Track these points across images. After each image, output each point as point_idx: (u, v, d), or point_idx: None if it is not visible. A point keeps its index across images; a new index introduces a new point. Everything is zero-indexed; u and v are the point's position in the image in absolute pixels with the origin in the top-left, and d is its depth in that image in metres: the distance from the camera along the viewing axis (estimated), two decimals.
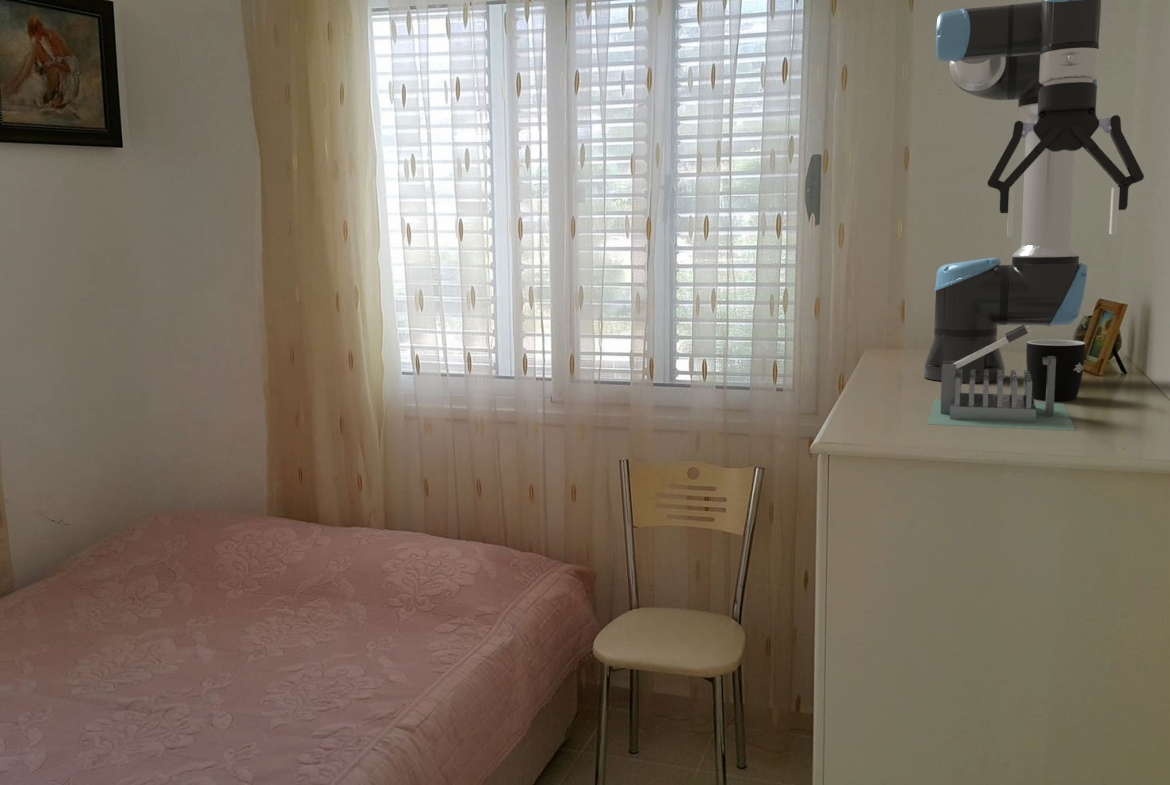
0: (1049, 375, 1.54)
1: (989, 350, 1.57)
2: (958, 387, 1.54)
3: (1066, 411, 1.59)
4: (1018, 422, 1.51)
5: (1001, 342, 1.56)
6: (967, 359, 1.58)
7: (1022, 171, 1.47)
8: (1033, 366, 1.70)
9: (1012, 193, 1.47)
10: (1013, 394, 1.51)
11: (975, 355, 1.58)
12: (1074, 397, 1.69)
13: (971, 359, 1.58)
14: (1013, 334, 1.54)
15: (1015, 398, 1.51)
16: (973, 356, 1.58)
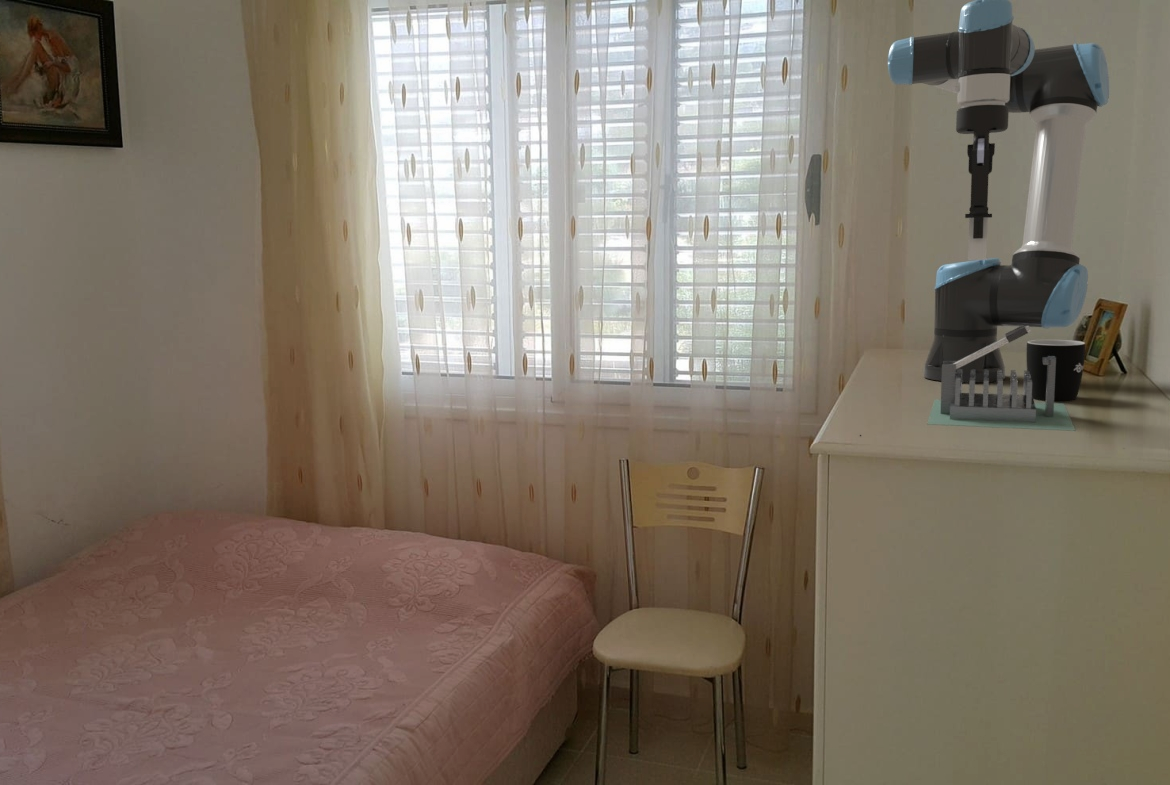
0: (1049, 375, 1.54)
1: (989, 350, 1.57)
2: (958, 387, 1.54)
3: (1066, 411, 1.59)
4: (1018, 422, 1.51)
5: (1001, 342, 1.56)
6: (967, 359, 1.58)
7: None
8: (1033, 366, 1.70)
9: None
10: (1013, 394, 1.51)
11: (975, 355, 1.58)
12: (1074, 397, 1.69)
13: (971, 359, 1.58)
14: (1013, 334, 1.54)
15: (1015, 398, 1.51)
16: (973, 356, 1.58)
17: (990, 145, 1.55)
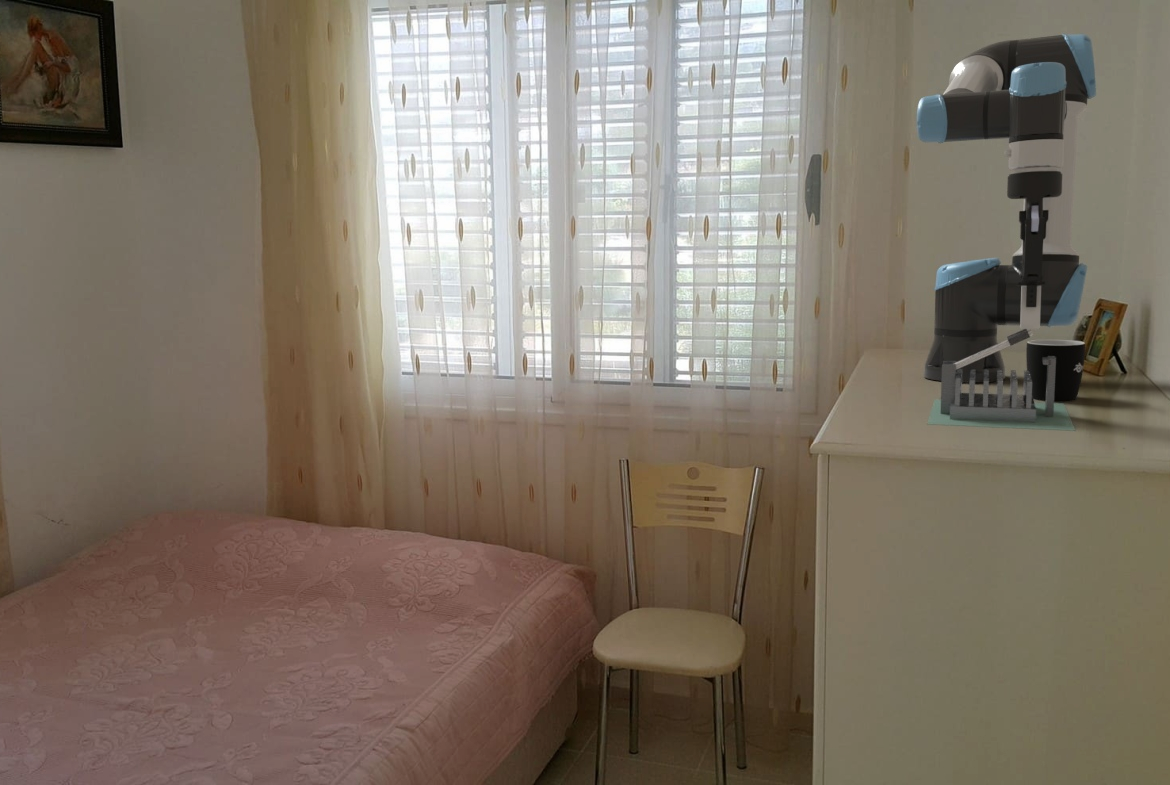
0: (1049, 375, 1.54)
1: (990, 352, 1.57)
2: (958, 387, 1.54)
3: (1066, 411, 1.59)
4: (1018, 422, 1.51)
5: (1003, 345, 1.56)
6: (968, 360, 1.58)
7: (1023, 261, 1.55)
8: (1033, 366, 1.70)
9: (1021, 288, 1.55)
10: (1013, 394, 1.51)
11: (976, 356, 1.58)
12: (1074, 397, 1.69)
13: (972, 360, 1.58)
14: (1015, 337, 1.54)
15: (1015, 398, 1.51)
16: (974, 357, 1.58)
17: (1044, 212, 1.51)
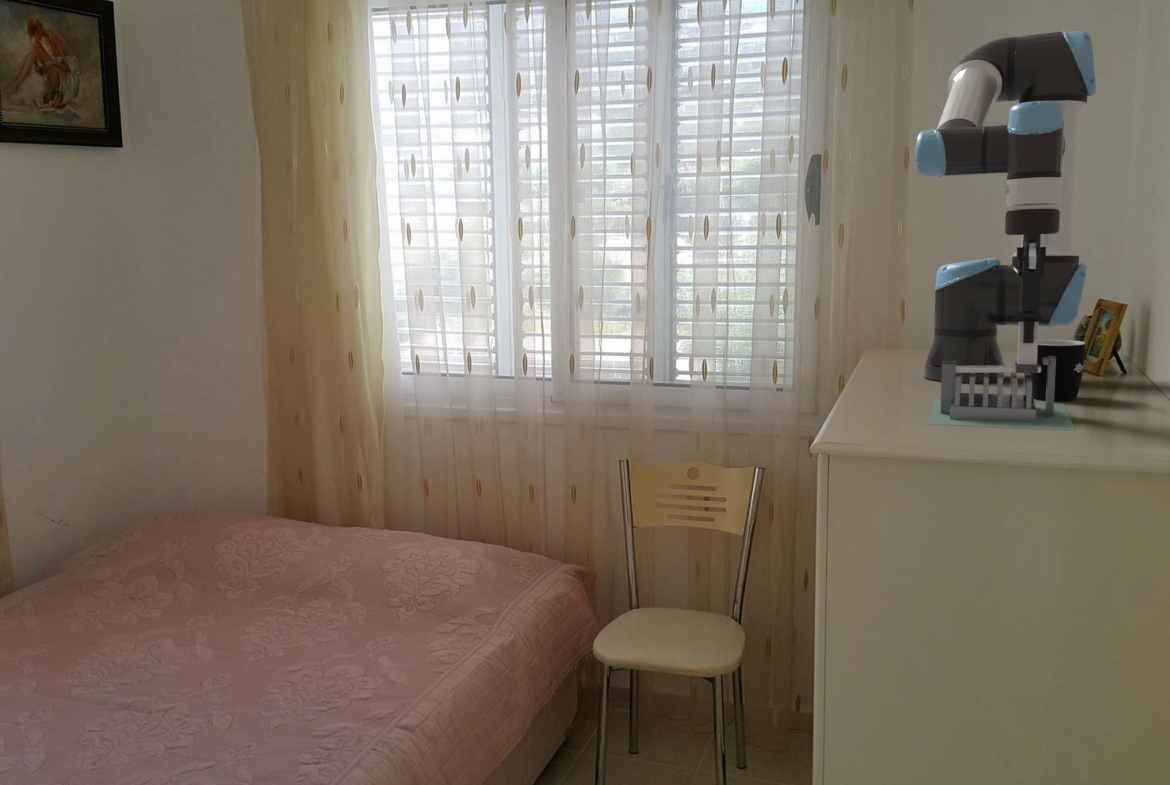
0: (1049, 375, 1.54)
1: (994, 370, 1.57)
2: (958, 387, 1.54)
3: (1066, 411, 1.59)
4: (1018, 422, 1.51)
5: (1009, 369, 1.56)
6: (970, 369, 1.58)
7: None
8: None
9: None
10: (1013, 394, 1.51)
11: (979, 369, 1.58)
12: (1074, 397, 1.69)
13: (974, 370, 1.58)
14: (1024, 367, 1.54)
15: (1015, 398, 1.51)
16: (977, 369, 1.58)
17: (1041, 249, 1.51)
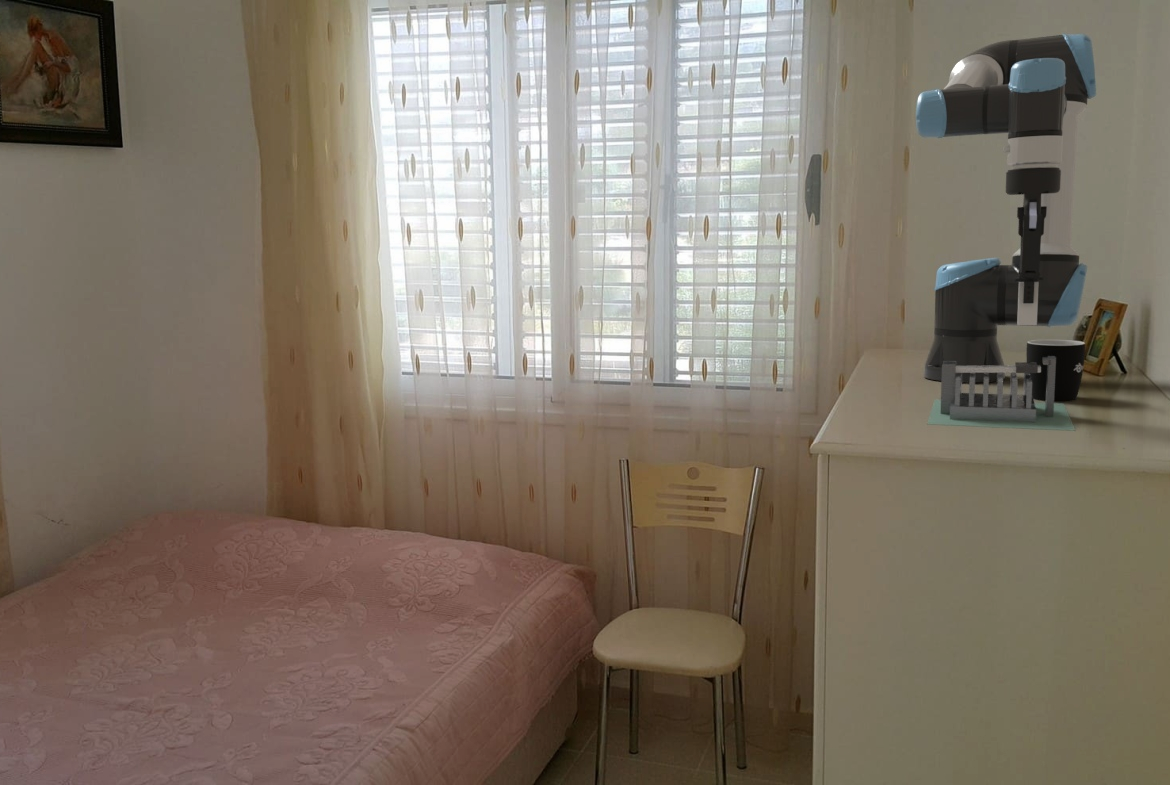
0: (1049, 375, 1.54)
1: (994, 370, 1.57)
2: (958, 387, 1.54)
3: (1066, 411, 1.59)
4: (1018, 422, 1.51)
5: (1009, 369, 1.56)
6: (970, 369, 1.58)
7: None
8: None
9: None
10: (1013, 394, 1.51)
11: (979, 369, 1.58)
12: (1074, 397, 1.69)
13: (974, 370, 1.58)
14: (1024, 367, 1.54)
15: (1015, 398, 1.51)
16: (977, 369, 1.58)
17: (1042, 208, 1.51)
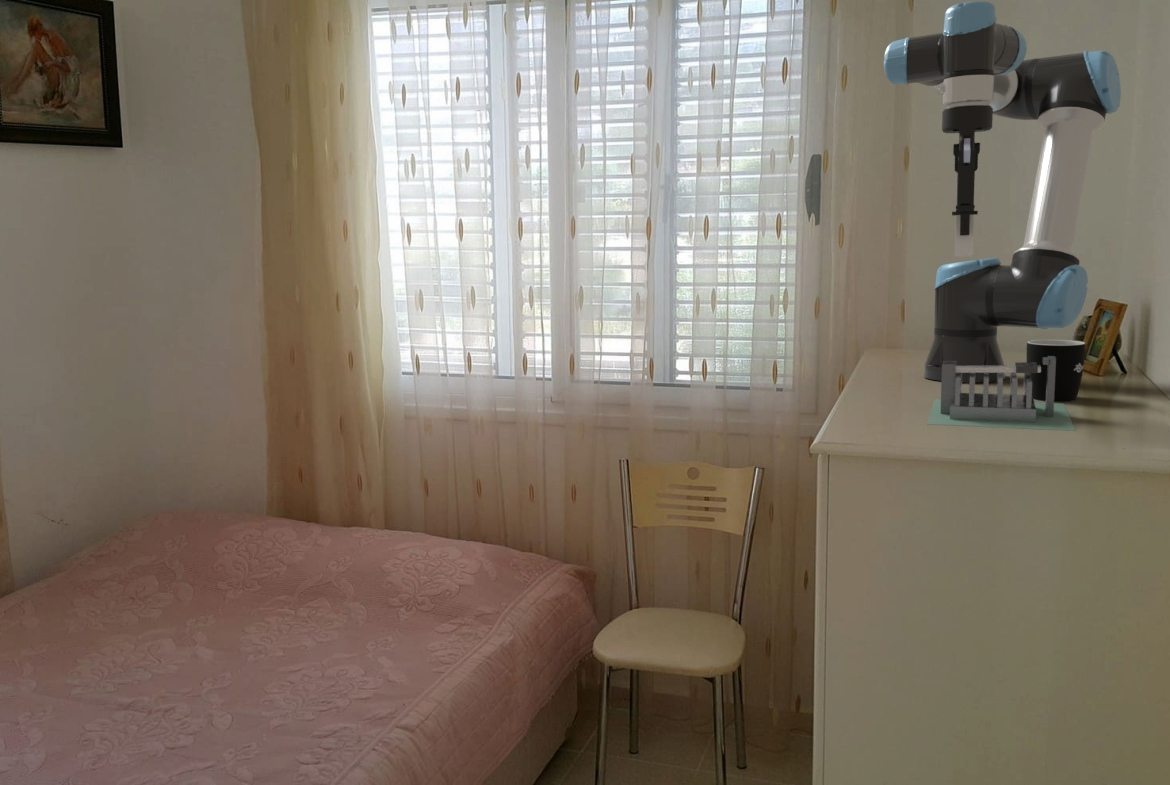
0: (1049, 375, 1.54)
1: (994, 370, 1.57)
2: (958, 387, 1.54)
3: (1066, 411, 1.59)
4: (1018, 422, 1.51)
5: (1009, 369, 1.56)
6: (970, 369, 1.58)
7: (957, 192, 1.64)
8: None
9: None
10: (1013, 394, 1.51)
11: (979, 369, 1.58)
12: (1074, 397, 1.69)
13: (974, 370, 1.58)
14: (1024, 367, 1.54)
15: (1015, 398, 1.51)
16: (977, 369, 1.58)
17: (975, 144, 1.60)
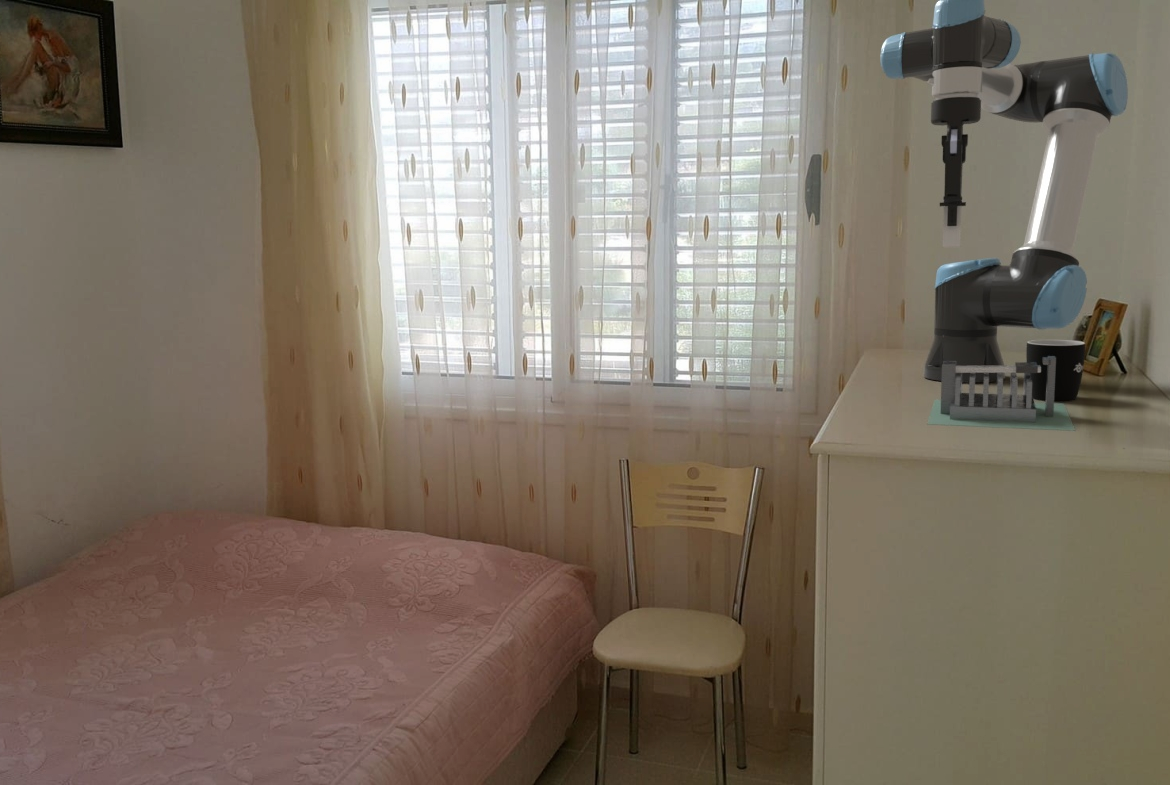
0: (1049, 375, 1.54)
1: (994, 370, 1.57)
2: (958, 387, 1.54)
3: (1066, 411, 1.59)
4: (1018, 422, 1.51)
5: (1009, 369, 1.56)
6: (970, 369, 1.58)
7: None
8: None
9: None
10: (1013, 394, 1.51)
11: (979, 369, 1.58)
12: (1074, 397, 1.69)
13: (974, 370, 1.58)
14: (1024, 367, 1.54)
15: (1015, 398, 1.51)
16: (977, 369, 1.58)
17: (963, 136, 1.61)
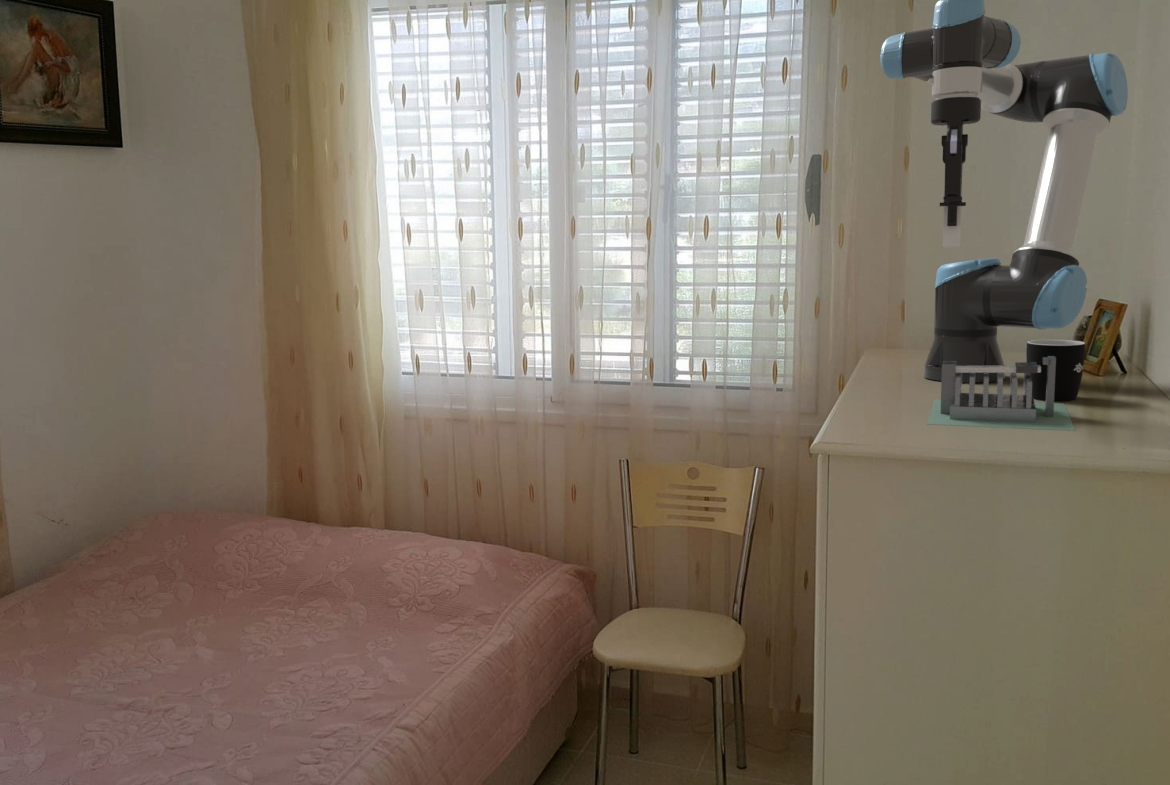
0: (1049, 375, 1.54)
1: (994, 370, 1.57)
2: (958, 387, 1.54)
3: (1066, 411, 1.59)
4: (1018, 422, 1.51)
5: (1009, 369, 1.56)
6: (970, 369, 1.58)
7: None
8: None
9: None
10: (1013, 394, 1.51)
11: (979, 369, 1.58)
12: (1074, 397, 1.69)
13: (974, 370, 1.58)
14: (1024, 367, 1.54)
15: (1015, 398, 1.51)
16: (977, 369, 1.58)
17: (963, 136, 1.61)
